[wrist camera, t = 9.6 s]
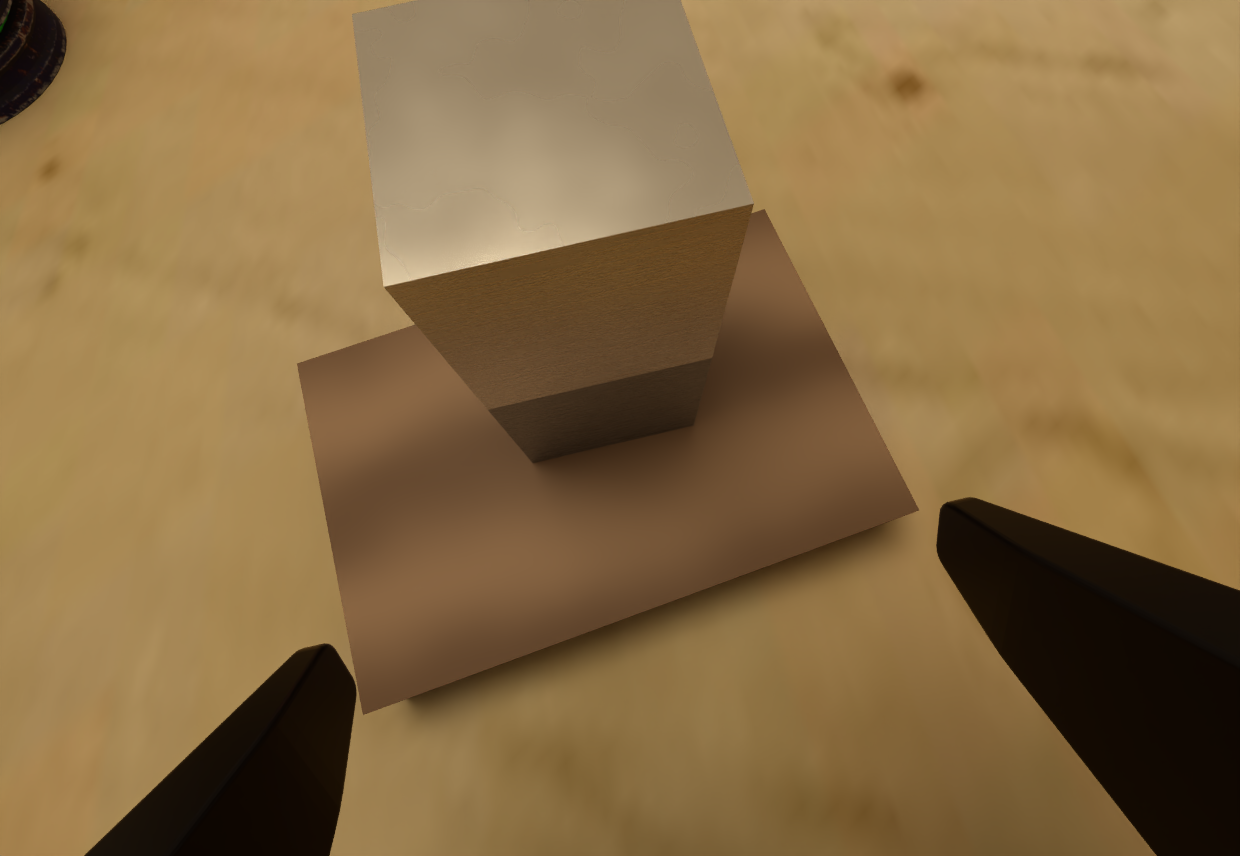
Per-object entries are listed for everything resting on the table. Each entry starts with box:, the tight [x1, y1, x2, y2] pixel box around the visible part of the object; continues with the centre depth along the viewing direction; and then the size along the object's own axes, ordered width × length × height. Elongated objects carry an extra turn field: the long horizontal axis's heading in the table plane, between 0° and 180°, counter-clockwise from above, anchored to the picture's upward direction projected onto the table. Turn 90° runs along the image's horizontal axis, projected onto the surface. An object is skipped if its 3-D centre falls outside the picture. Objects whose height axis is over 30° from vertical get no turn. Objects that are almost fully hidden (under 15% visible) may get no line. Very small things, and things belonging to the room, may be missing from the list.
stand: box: [297, 209, 919, 715], centre depth 20 cm, size 12×18×3 cm, turn 109°
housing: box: [352, 0, 754, 463], centre depth 14 cm, size 6×6×11 cm
